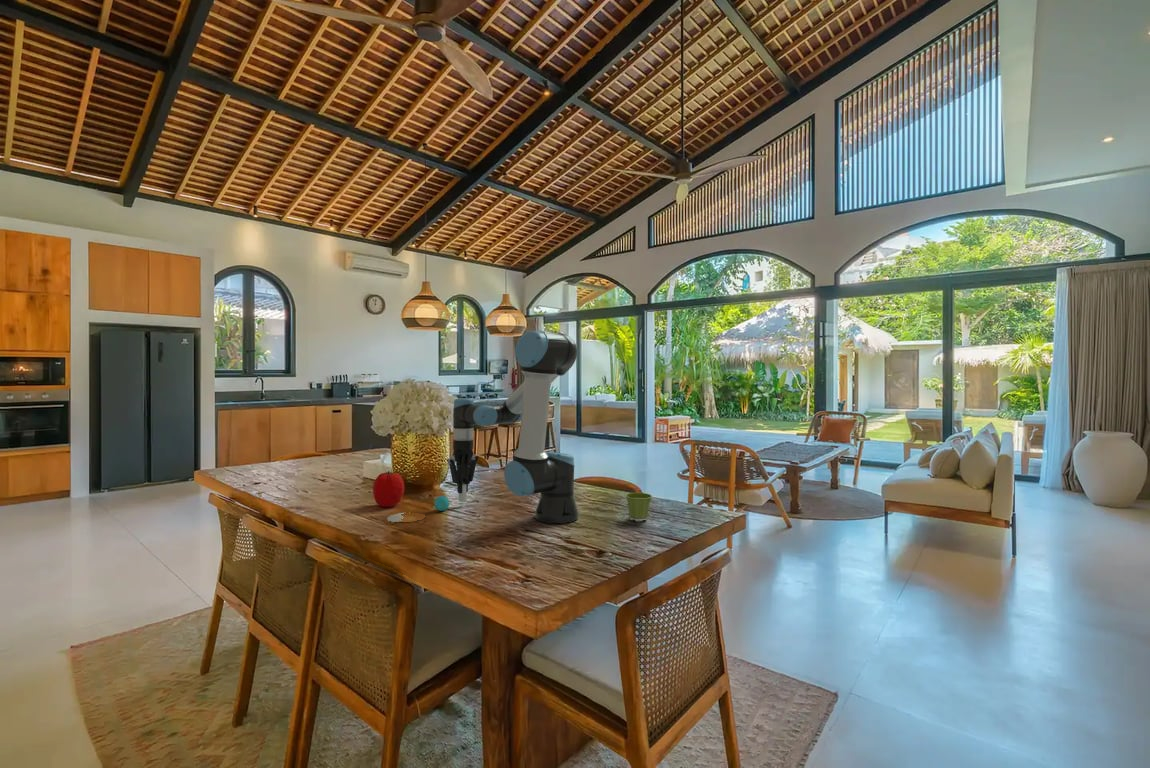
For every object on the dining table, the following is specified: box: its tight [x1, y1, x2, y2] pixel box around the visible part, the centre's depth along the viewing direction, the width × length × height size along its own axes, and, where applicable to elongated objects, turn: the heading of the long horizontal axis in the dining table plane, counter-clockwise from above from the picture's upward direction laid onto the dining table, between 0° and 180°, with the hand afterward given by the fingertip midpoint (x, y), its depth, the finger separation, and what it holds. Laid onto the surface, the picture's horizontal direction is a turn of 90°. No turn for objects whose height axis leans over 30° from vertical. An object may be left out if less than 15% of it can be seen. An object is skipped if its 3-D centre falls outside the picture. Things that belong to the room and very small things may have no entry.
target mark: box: [386, 511, 411, 523], centre depth 184 cm, size 13×13×1 cm
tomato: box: [372, 470, 406, 508], centre depth 200 cm, size 12×12×13 cm
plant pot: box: [624, 492, 653, 519], centre depth 186 cm, size 9×9×9 cm
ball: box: [433, 495, 451, 512], centre depth 195 cm, size 6×6×6 cm
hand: (462, 501), depth 201 cm, fingers closed
